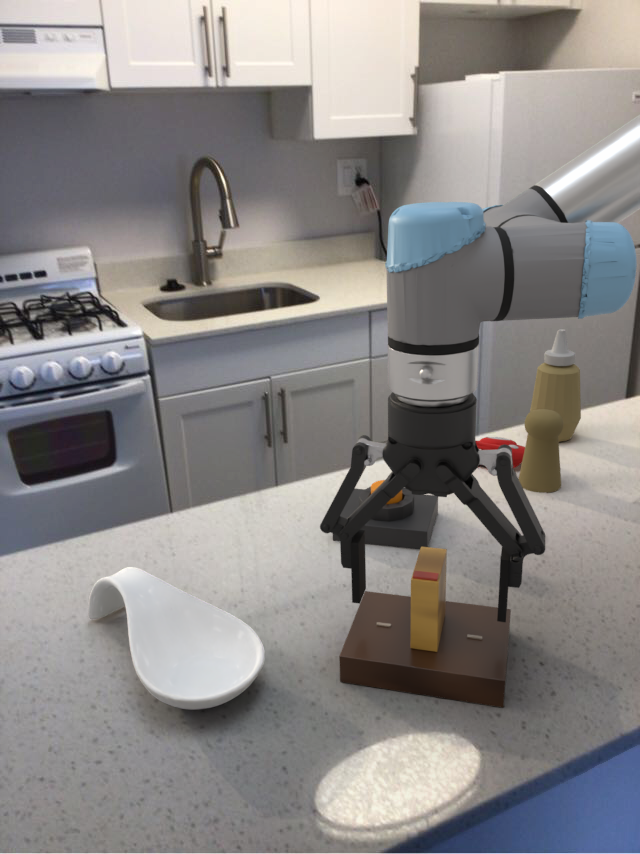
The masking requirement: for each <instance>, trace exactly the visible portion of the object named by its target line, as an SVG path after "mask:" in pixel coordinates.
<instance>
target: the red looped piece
mask: <svg viewBox="0 0 640 854" xmlns="http://www.w3.org/2000/svg"><path fill="white" fill-rule="evenodd" d="M476 444H477V447H478V448H479V450H497V449H498V448H499V446H501V445H504V444H505V445H508V446H510V447H511V449H512V459H513V469H515V468H518V466H521V465H522V460H523V455H524V451H525V446H523V445H520V444H518V443H517V442H515V440H513V439H509V438H505V437H501V436H486V437H481V439H479V440H476Z"/></svg>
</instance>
